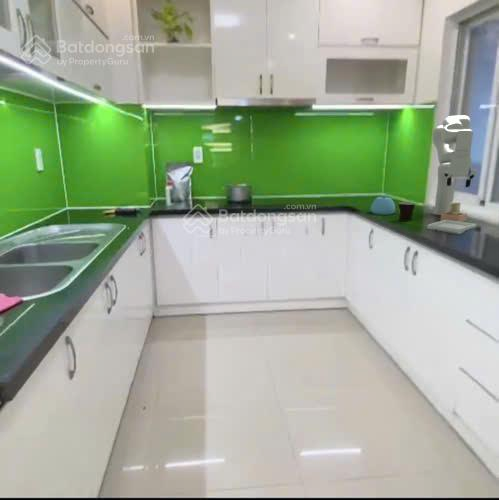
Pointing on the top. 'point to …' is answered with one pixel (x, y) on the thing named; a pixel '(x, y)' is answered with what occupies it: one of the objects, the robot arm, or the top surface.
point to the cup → (453, 217)
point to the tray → (451, 226)
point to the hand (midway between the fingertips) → (457, 186)
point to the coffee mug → (406, 211)
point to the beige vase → (454, 208)
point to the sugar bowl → (383, 206)
